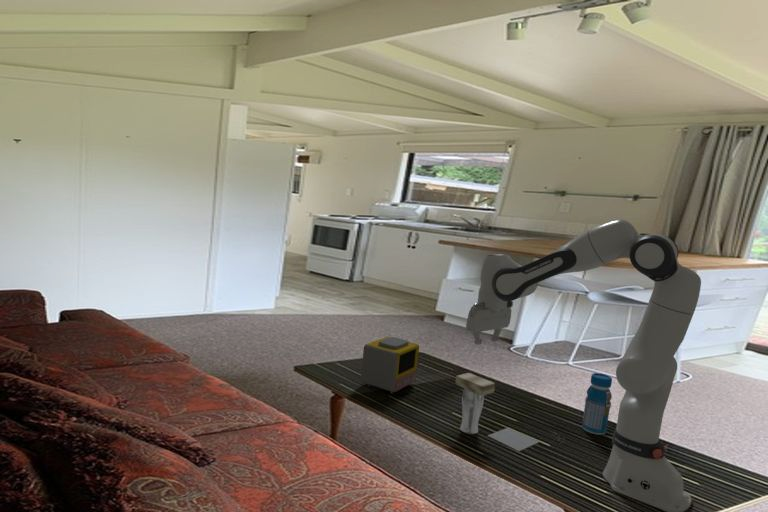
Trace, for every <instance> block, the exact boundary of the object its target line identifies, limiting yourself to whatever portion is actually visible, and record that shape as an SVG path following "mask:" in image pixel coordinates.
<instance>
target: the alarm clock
mask: <svg viewBox="0 0 768 512" xmlns="http://www.w3.org/2000/svg"><path fill="white" fill-rule="evenodd" d="M419 352H420V345H419V344H418V343H414V342H411V341H409V340H407V339H403V338H399V337H394V336H386V337H384V338H380V339H376V340H374V341H372V342H368V343H365V344H364V346H363V352H362V360H361V361H362V363H361V371H360V382H361V383H363V384H367V386H368V387H371V386H373V387H374V388H375V387H376V388H378V389H381V390H385V391H388V392H390V394H391V395H392V394H394V393H396V392H398V391H400V390H401V389H404V388H405V387H407V386H409V385H410V384H413V383H414V382H416V378H417V372H418V371H417V369H418V362H419Z"/></svg>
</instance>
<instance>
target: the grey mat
mask: <svg viewBox="0 0 768 512" xmlns="http://www.w3.org/2000/svg"><path fill="white" fill-rule="evenodd" d="M487 437H489V438H492V439H494V440H495V441H498V442H500V443H501V444H504V445H506V446H507V447H509V448H512V449H514V450H516V451H518V452H521V451H522V450H525V449H528V448H529V447H532V446H534V445H536V444H538V443H540V441H539V440H536V439H535V438H532V437H530V436H528V435H526V434H524V433H521V432H519V431H517V430H515V429H513V428H510V427H506V428H504V429H501V430H498V431H495V432H493V433H491V434H488V435H487Z"/></svg>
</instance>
